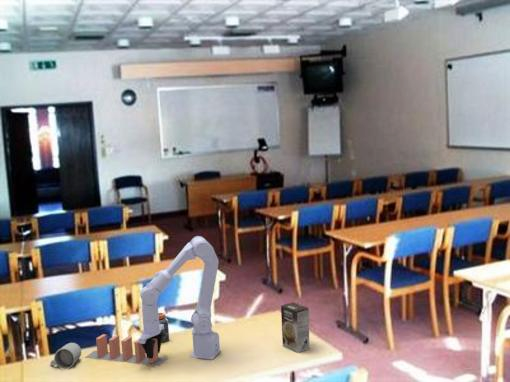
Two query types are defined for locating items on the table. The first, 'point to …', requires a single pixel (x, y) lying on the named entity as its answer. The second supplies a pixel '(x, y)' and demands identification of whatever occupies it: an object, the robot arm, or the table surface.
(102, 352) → the domino
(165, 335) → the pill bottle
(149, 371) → the table surface
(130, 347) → the domino
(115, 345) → the domino
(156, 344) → the domino
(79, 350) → the ceramic mug
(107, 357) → the runner mat
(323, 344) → the table surface
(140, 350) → the domino
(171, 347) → the table surface
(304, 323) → the coffee box
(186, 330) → the table surface
